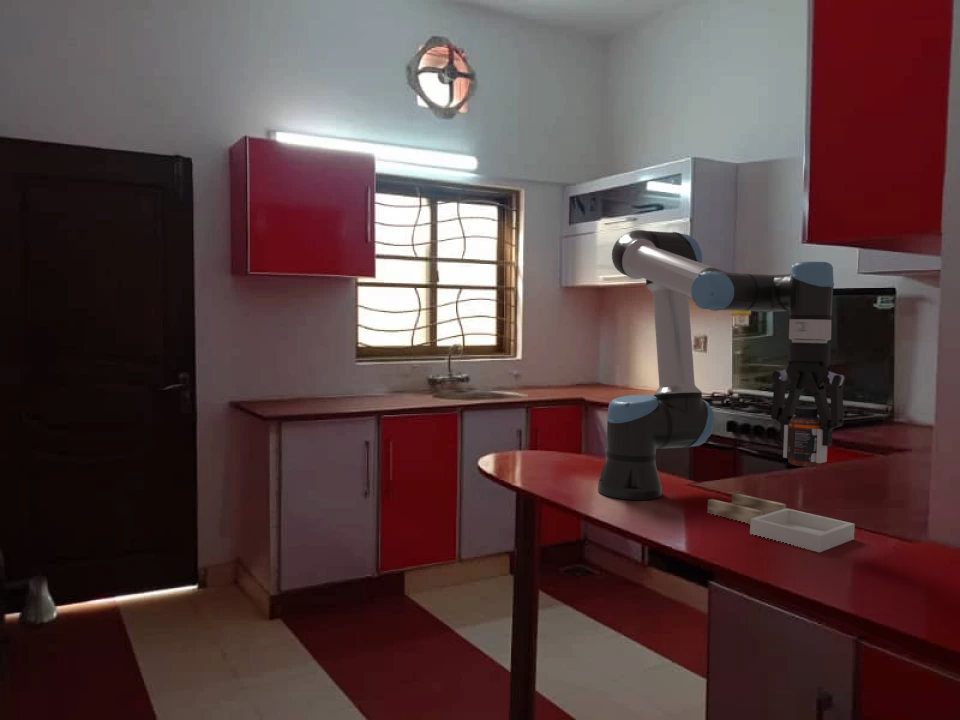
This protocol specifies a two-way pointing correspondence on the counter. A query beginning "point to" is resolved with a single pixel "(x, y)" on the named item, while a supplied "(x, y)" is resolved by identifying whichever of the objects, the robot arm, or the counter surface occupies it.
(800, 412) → the supplement bottle
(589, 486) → the counter surface
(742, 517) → the cradle
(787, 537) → the tray
